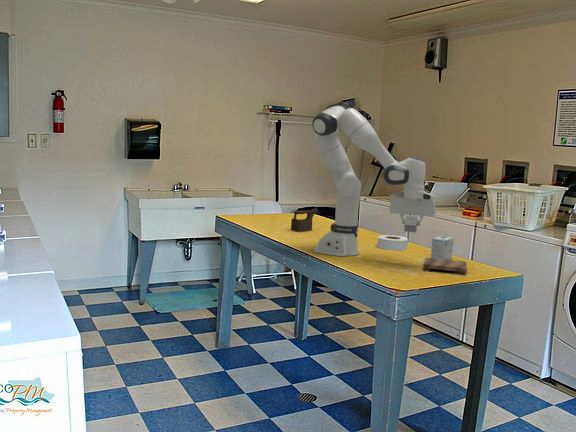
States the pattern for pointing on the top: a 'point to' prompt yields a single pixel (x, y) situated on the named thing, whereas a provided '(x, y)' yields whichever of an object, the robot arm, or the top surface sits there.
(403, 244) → the roll of tape
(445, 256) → the light bulb box
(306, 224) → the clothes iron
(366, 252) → the top surface
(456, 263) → the stand
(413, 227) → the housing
